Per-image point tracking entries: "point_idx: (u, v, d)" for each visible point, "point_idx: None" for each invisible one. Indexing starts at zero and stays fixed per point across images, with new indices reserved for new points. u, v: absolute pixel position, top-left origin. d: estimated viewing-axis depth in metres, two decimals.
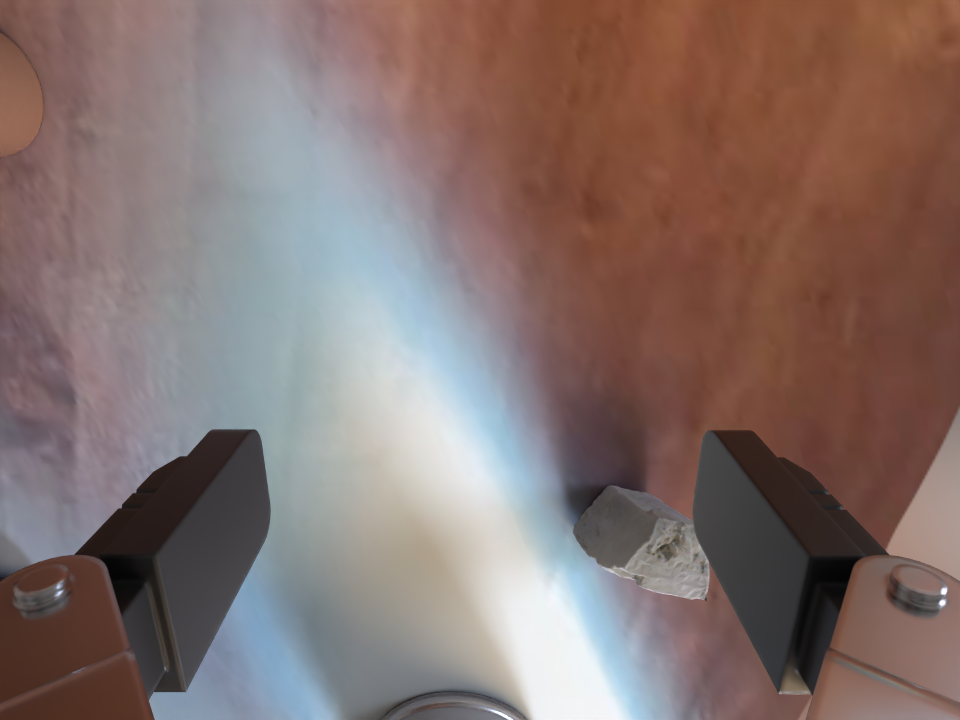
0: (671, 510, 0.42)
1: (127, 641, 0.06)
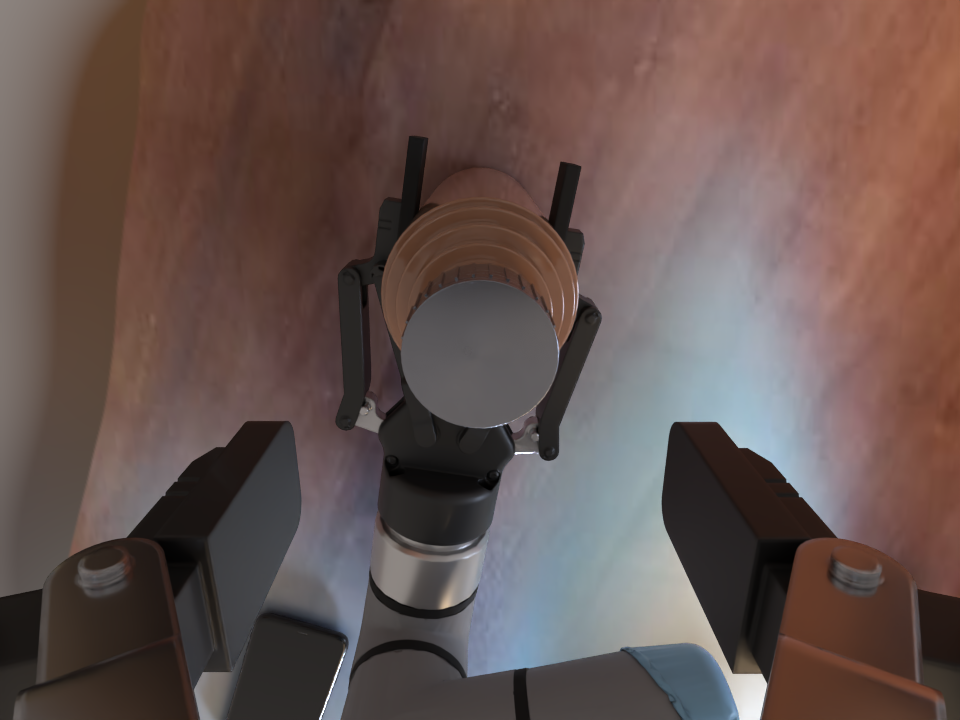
0: None
1: (178, 625, 0.06)
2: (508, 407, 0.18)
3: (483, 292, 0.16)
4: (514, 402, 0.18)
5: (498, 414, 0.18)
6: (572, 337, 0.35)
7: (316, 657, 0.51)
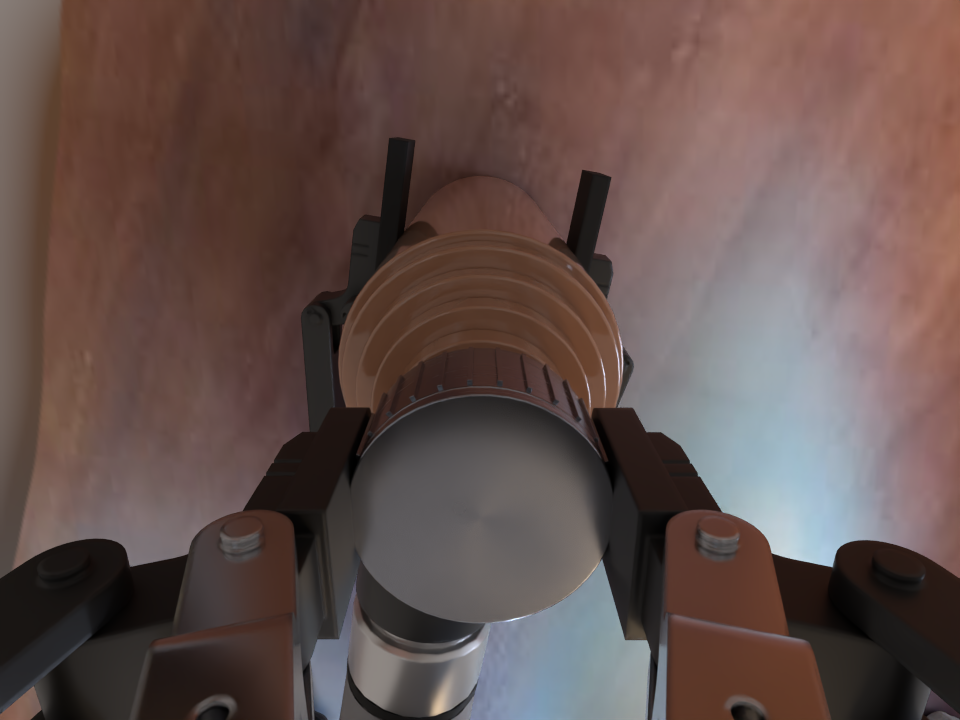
0: None
1: (295, 602, 0.07)
2: (528, 593, 0.11)
3: (487, 415, 0.09)
4: (538, 585, 0.11)
5: (511, 603, 0.11)
6: None
7: None
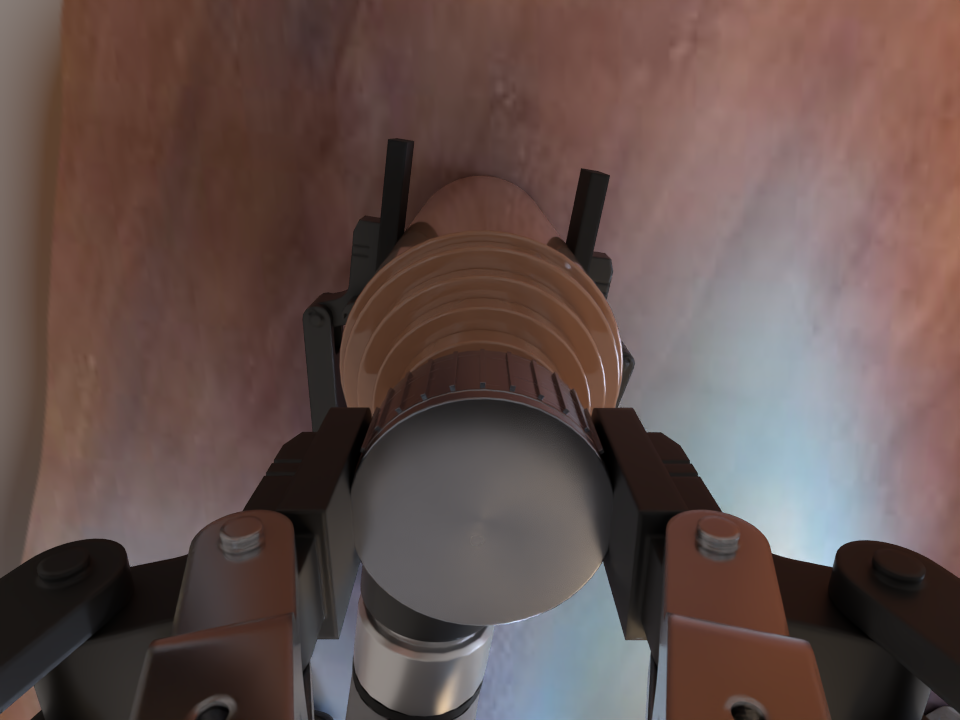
0: None
1: (294, 603, 0.07)
2: (559, 454, 0.10)
3: (372, 543, 0.10)
4: (547, 447, 0.10)
5: (578, 465, 0.10)
6: None
7: None
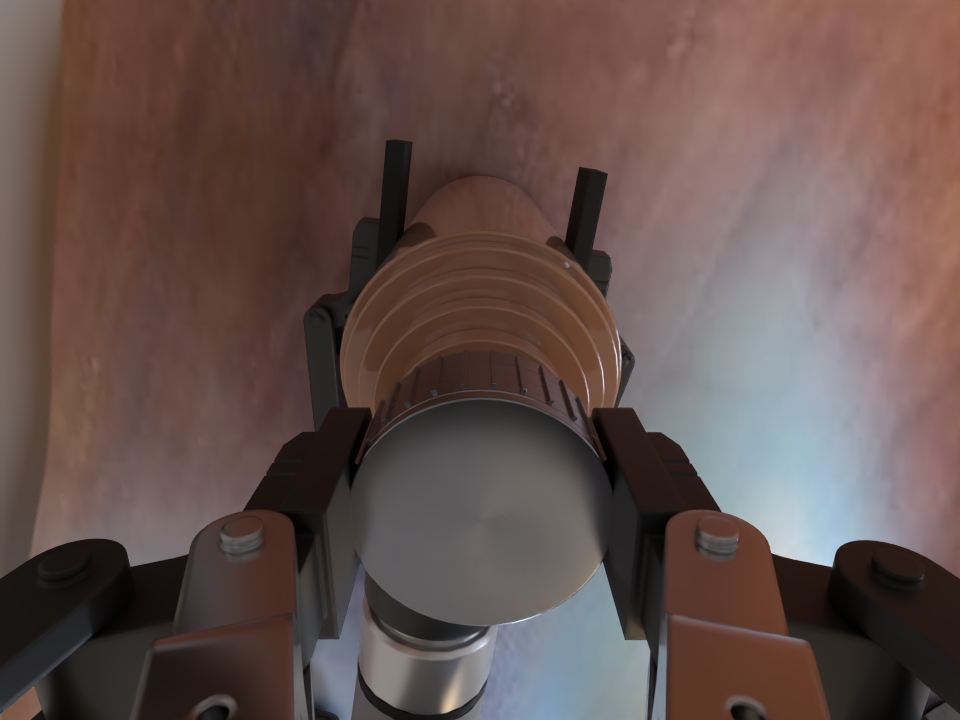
0: None
1: (295, 603, 0.07)
2: (385, 478, 0.10)
3: (536, 599, 0.11)
4: (382, 489, 0.10)
5: (391, 458, 0.10)
6: None
7: None
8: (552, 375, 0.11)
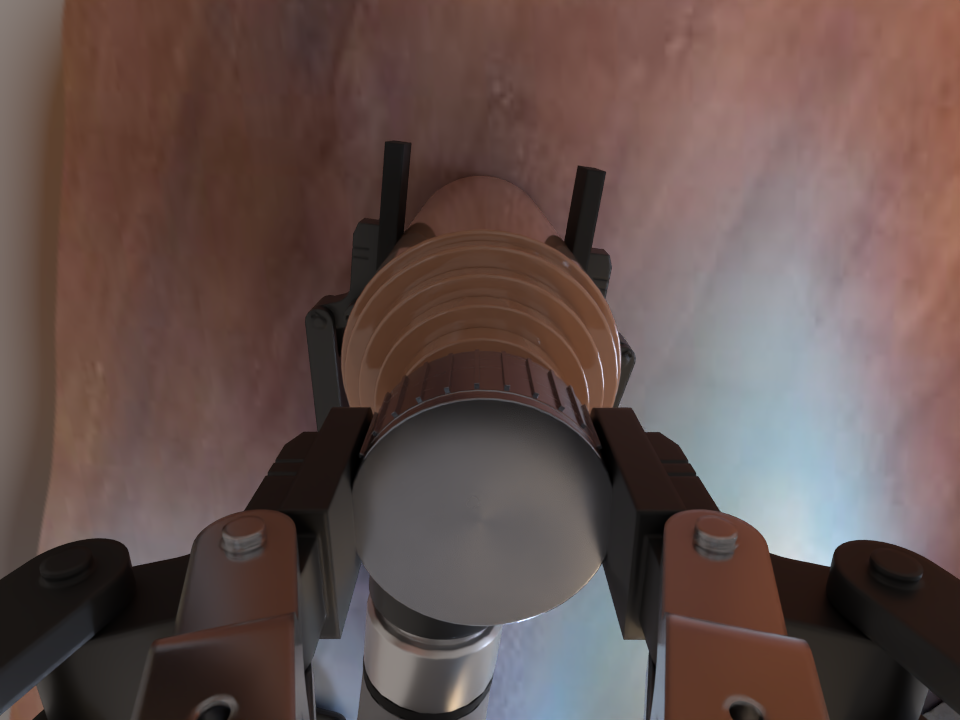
0: None
1: (297, 602, 0.07)
2: (462, 604, 0.11)
3: (563, 447, 0.10)
4: (475, 603, 0.11)
5: (441, 603, 0.11)
6: None
7: None
8: None
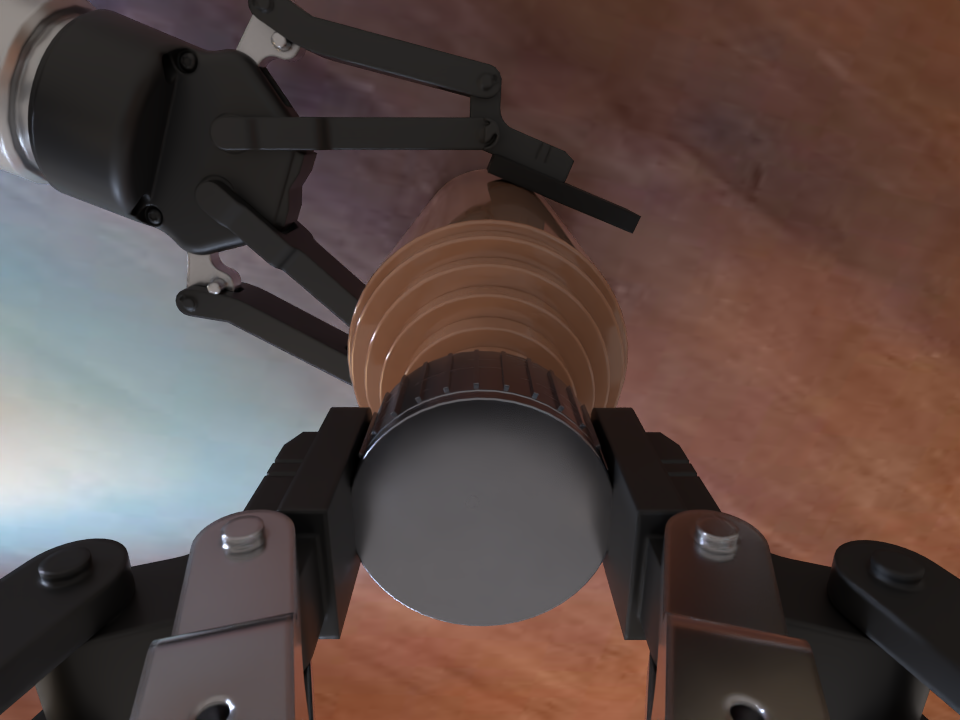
0: None
1: (296, 603, 0.07)
2: (462, 604, 0.11)
3: (562, 447, 0.10)
4: (475, 603, 0.11)
5: (441, 603, 0.11)
6: None
7: None
8: None
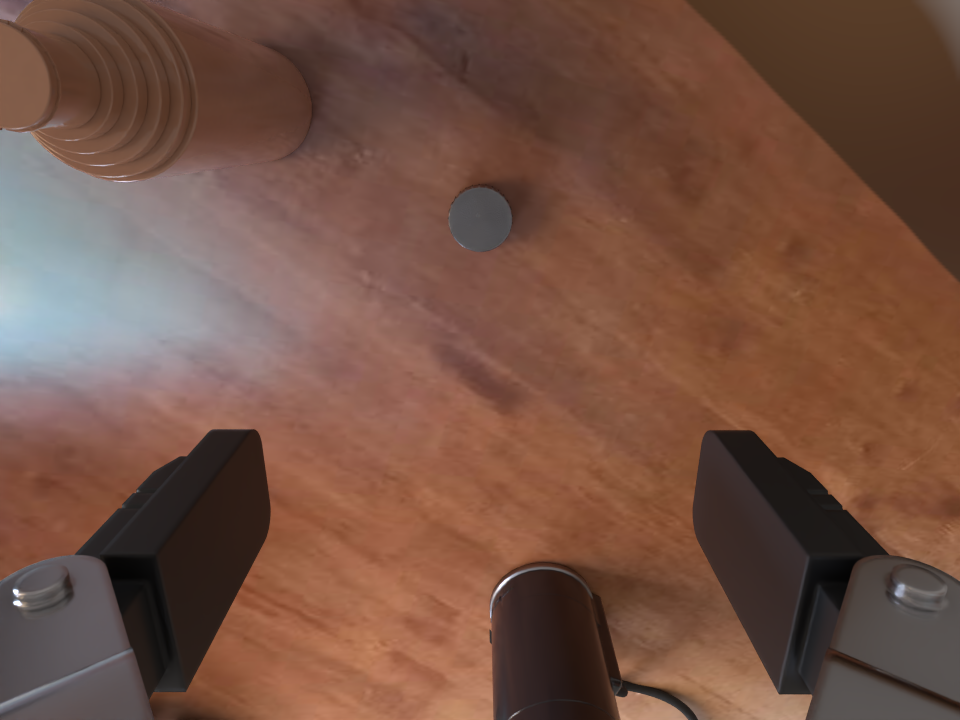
0: None
1: (127, 641, 0.06)
2: (475, 244, 0.43)
3: (498, 199, 0.42)
4: (478, 244, 0.43)
5: (470, 244, 0.43)
6: None
7: None
8: None
